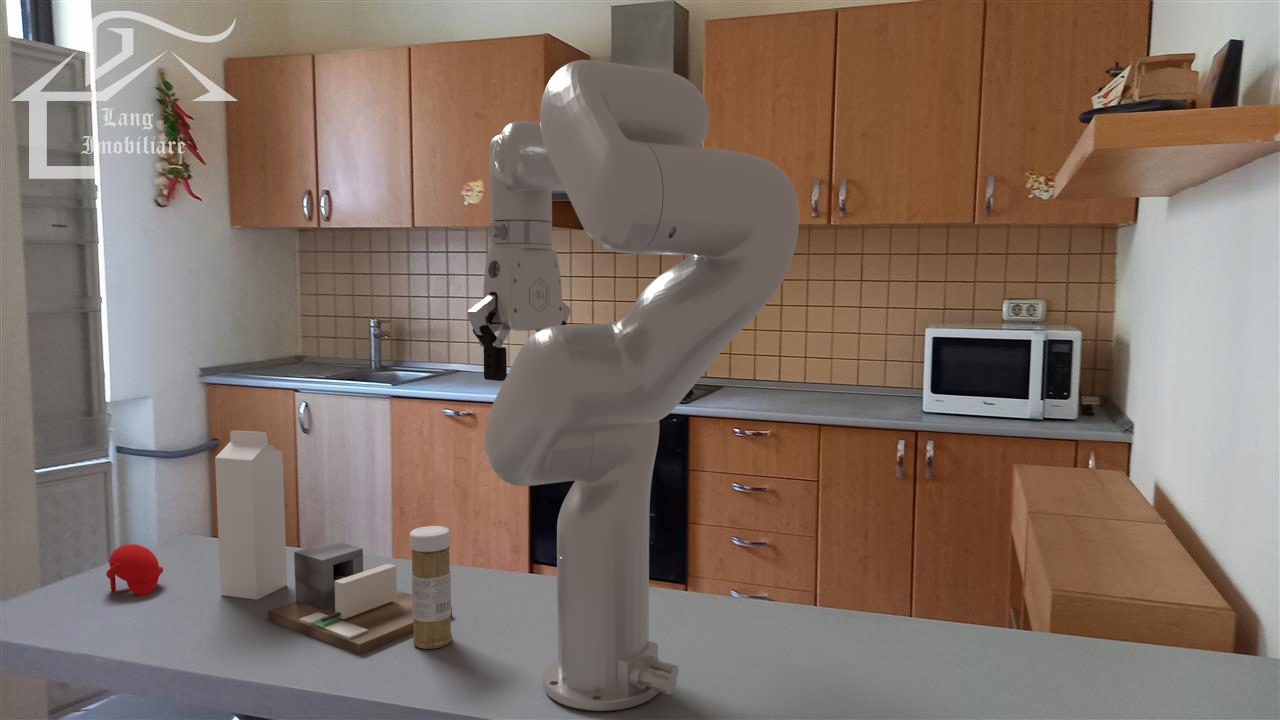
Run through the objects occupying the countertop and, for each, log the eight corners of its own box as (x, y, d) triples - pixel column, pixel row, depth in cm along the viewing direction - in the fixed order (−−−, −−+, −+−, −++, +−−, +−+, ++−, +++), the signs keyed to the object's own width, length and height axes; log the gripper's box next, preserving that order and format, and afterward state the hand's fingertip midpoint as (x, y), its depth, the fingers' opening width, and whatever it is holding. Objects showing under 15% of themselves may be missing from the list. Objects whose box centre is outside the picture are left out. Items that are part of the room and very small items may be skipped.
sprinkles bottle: (441, 631, 105) (439, 522, 104) (459, 643, 101) (457, 530, 100) (405, 641, 102) (402, 529, 101) (422, 654, 98) (420, 538, 97)
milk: (252, 581, 122) (246, 426, 121) (288, 585, 121) (282, 428, 119) (219, 596, 117) (213, 433, 115) (257, 600, 115) (251, 435, 113)
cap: (91, 566, 119) (98, 552, 115) (134, 542, 123) (142, 528, 119) (126, 613, 119) (133, 601, 115) (167, 587, 123) (176, 575, 119)
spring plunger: (396, 599, 111) (396, 565, 111) (326, 625, 102) (325, 589, 102) (363, 589, 115) (362, 556, 114) (293, 613, 106) (291, 578, 106)
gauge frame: (452, 615, 110) (450, 557, 109) (359, 654, 98) (357, 589, 97) (360, 587, 120) (359, 533, 119) (267, 619, 108) (265, 560, 108)
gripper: (493, 233, 97) (495, 385, 99) (589, 239, 111) (589, 372, 113) (447, 235, 101) (449, 381, 103) (544, 241, 116) (545, 369, 117)
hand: (522, 376), depth 108 cm, fingers open, 9 cm apart
